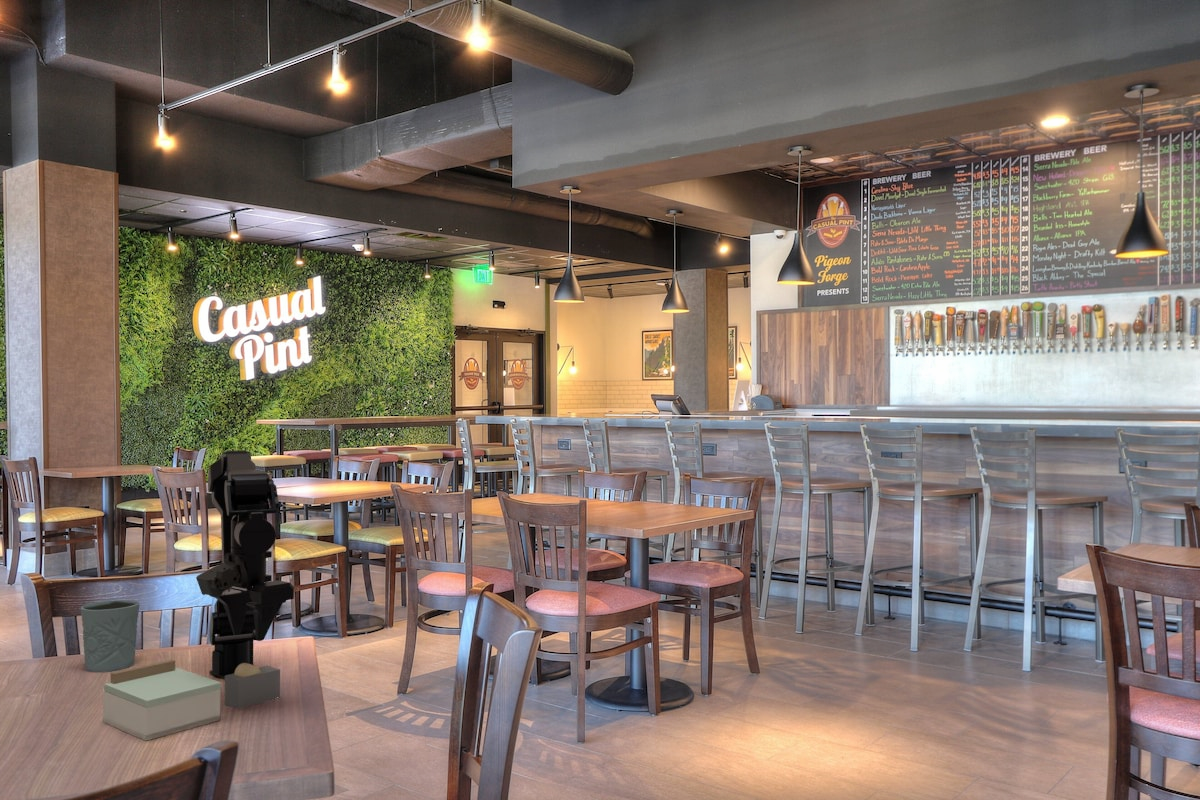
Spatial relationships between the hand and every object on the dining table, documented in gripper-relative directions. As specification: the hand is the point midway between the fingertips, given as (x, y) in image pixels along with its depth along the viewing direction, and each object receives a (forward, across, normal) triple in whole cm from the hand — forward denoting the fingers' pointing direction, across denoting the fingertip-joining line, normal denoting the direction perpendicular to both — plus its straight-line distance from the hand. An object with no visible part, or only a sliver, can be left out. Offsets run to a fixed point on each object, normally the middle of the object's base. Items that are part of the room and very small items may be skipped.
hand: (248, 637), depth 159 cm
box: (+11, -2, -14) cm, 18 cm away
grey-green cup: (+11, -42, -4) cm, 44 cm away
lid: (+6, -2, -14) cm, 15 cm away
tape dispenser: (+11, 0, +1) cm, 11 cm away
